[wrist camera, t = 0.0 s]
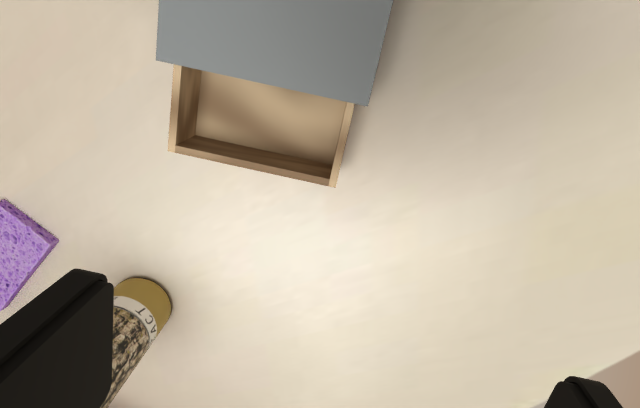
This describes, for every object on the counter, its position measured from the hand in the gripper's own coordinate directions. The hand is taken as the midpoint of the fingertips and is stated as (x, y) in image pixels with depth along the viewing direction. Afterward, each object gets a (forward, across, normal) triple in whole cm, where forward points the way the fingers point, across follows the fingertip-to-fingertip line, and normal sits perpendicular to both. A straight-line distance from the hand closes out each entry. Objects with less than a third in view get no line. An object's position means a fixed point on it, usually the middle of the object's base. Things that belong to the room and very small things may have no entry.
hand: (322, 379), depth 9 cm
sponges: (+32, +34, +22) cm, 52 cm away
